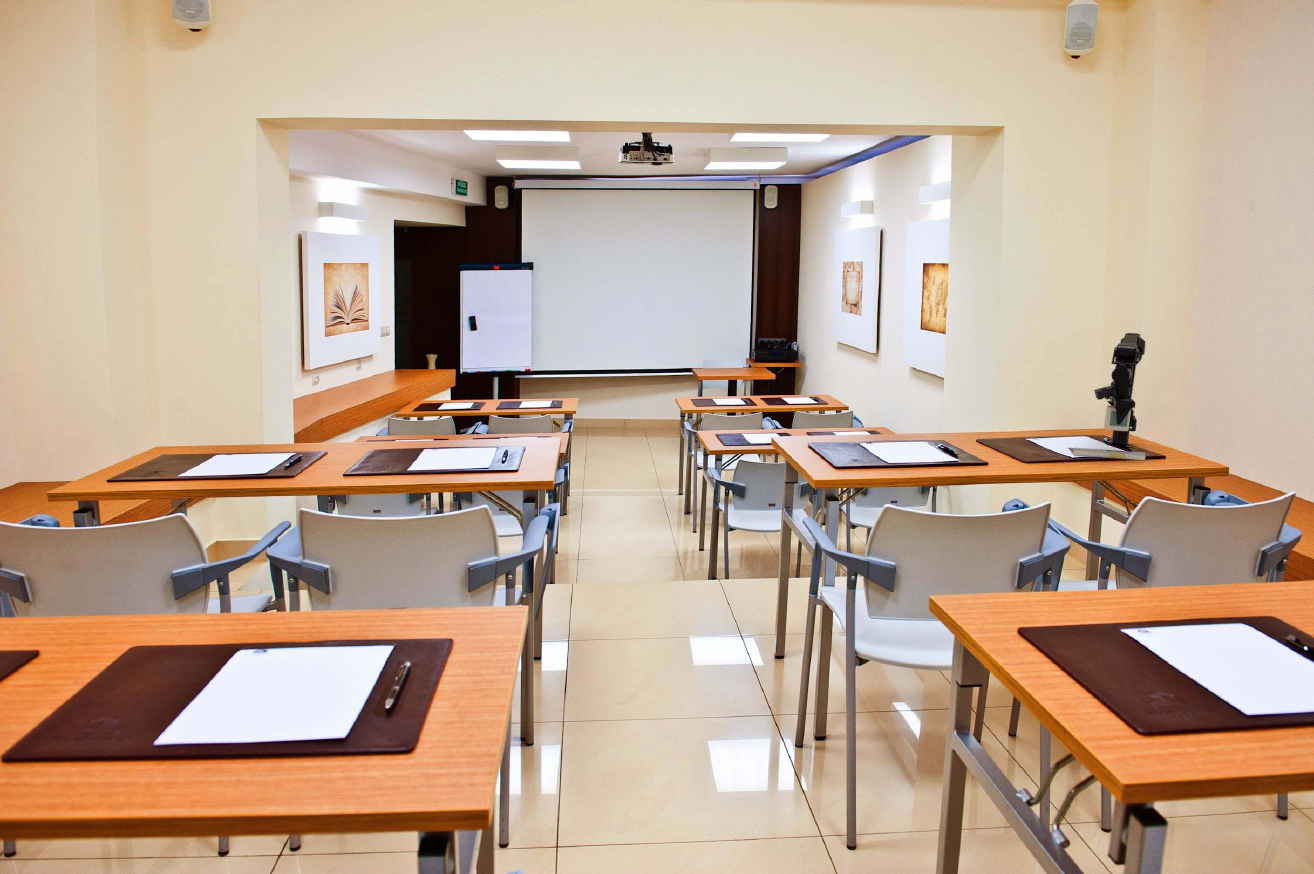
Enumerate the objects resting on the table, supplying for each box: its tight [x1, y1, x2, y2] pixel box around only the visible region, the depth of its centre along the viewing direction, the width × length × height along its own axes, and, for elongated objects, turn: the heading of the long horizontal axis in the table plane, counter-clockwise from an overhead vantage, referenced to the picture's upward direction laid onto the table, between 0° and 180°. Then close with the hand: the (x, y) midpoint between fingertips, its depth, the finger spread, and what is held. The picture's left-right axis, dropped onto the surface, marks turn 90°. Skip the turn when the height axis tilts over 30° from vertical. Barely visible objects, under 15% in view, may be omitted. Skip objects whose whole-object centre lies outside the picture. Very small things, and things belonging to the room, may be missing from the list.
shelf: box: [1068, 447, 1146, 461], centre depth 329 cm, size 13×23×3 cm, turn 75°
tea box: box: [1103, 404, 1131, 431], centre depth 326 cm, size 5×7×8 cm
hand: (1116, 423), depth 326 cm, fingers closed on tea box, 5 cm apart
